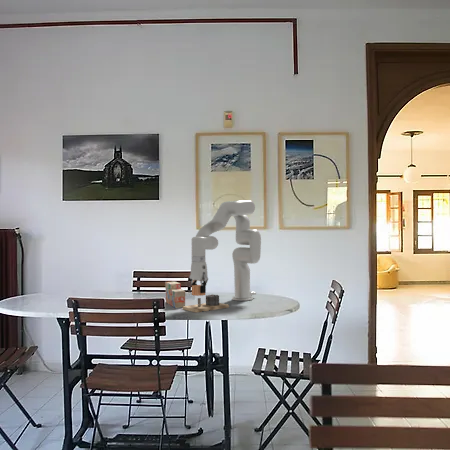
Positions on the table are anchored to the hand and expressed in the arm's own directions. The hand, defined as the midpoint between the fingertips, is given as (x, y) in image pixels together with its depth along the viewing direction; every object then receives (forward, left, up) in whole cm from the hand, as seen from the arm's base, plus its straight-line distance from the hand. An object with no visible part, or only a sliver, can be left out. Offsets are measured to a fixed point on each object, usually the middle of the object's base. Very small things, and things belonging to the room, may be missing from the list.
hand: (198, 291), depth 260 cm
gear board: (-5, 0, -10) cm, 11 cm away
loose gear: (0, 0, -2) cm, 2 cm away
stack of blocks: (+1, -22, -10) cm, 24 cm away
